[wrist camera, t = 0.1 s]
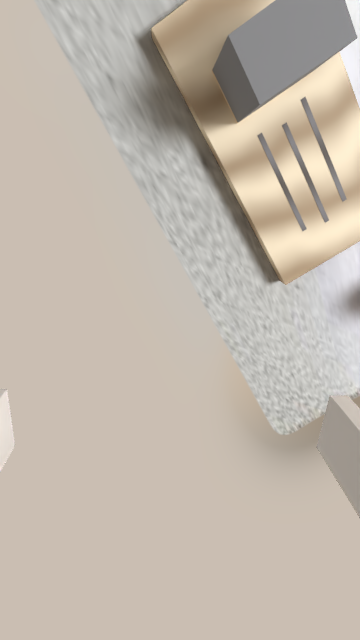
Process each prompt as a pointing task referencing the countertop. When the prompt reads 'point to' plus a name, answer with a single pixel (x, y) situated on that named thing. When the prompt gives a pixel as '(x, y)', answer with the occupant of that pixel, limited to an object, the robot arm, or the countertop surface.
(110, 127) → the countertop surface
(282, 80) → the block
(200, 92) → the board
